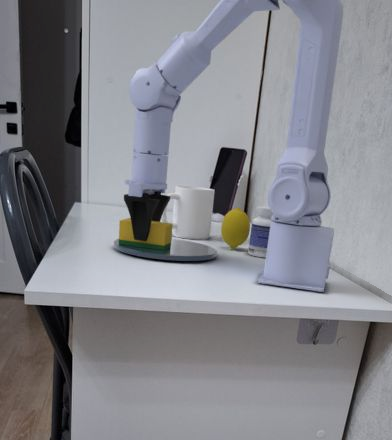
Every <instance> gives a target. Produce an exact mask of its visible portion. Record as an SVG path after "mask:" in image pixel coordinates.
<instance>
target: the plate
mask: <svg viewBox="0 0 392 440" xmlns="http://www.w3.org/2000/svg"><path fill="white" fill-rule="evenodd" d="M113 248H114V249H115V250H117V251H118V252H121V253H125V254H128V255H130V256H136V257H141V258H147V259H155V260H165V261H177V262H199V261H200V262H201V261H208V260H213V259H215V258H216V257H217V254H218V253H217V249H216V248H214V247H212V246H209V245H207V244H203V243H200V242H194V241H191V240H190V241H189V240H183V239H177V238H171V247H169V248H167V249H166V250H157V249H150V248H142V247H135V246H128V245H121V244H119V238H117V239H115V240H113Z"/></svg>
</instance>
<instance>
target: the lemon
mask: <svg viewBox="0 0 392 440" xmlns="http://www.w3.org/2000/svg"><path fill="white" fill-rule="evenodd" d="M250 232H251V222H250V218H249V216H248V215H247V213H246V212H245V211H243V210H241V208H240V207H235V208H234V209H232V210H229V211H228V212H227V213H226V214H225V215H224V217H223V219H222V222H221V227H220V235H221V238H222V240H223V241H224V243H225V244H227V245H228V246H229V247H230V250H231V249H232V250H235V249H237V247H239V246H241V245H243V244H244V243H245V242H246V241H247V240H248V239H249V236H250Z"/></svg>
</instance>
